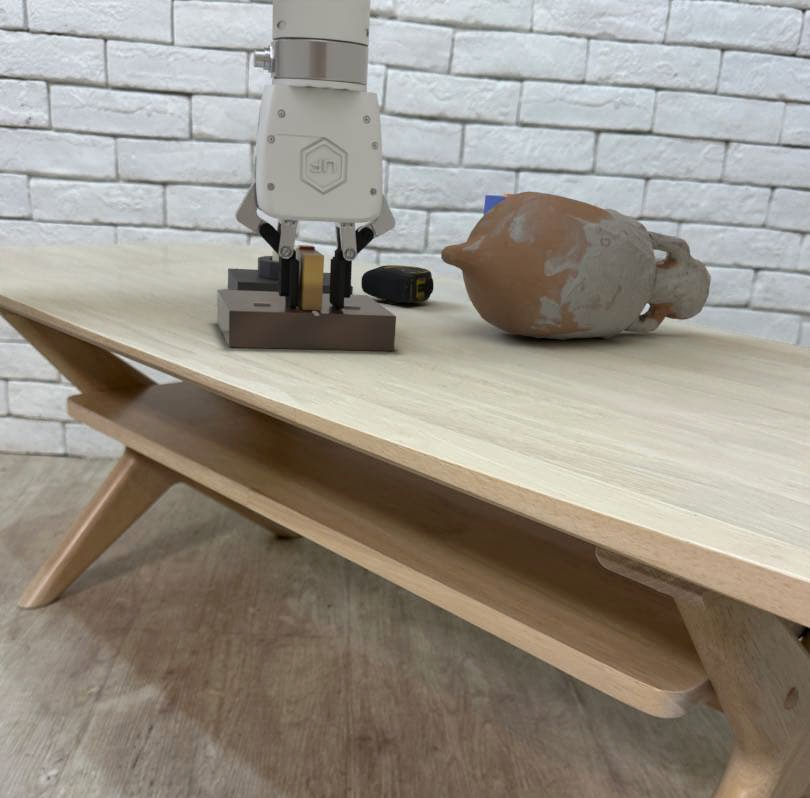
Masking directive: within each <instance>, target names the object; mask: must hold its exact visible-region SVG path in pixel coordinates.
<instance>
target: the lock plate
mask: <svg viewBox="0 0 810 798" xmlns="http://www.w3.org/2000/svg"><path fill="white" fill-rule="evenodd" d="M216 295H217V296H216V304H217V305H216V323H217V325H218V327H219V329H220V332H221V333H222V335H223V337H224V340H225V341H226V344H227V345H228V348H235V349H236V348H238V349H277V350H279V349H284V350H286V349H287V350H320V351H321V350H323V351H324V350H327V351H329V350H330V351H365V352H366V351H370V352H371V351H372V352H379V351H380V352H394V350H395V340H396V325H397V315H395V314H394V313H392V312H391V311H389V310H388V309H387V308H386V307H384V306H382V304H380V303H379V302H377V301H376V300H374V299H373V298H372V297H370V295H368V294H352V295H350V298H344V309H337V308H336V307H334V306H333V305H332V304H331V303H330V301H329V297H330V294H322V310H321V311H312V310H303V309H302V308H301V307H300V306H299V305H298V307H296V308H289V307H288V305H287V304H286V302H285V296H279V292H267V291H241V290H229V289H217V290H216Z"/></svg>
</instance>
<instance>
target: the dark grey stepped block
mask: <svg viewBox="0 0 810 798" xmlns="http://www.w3.org/2000/svg"><path fill="white" fill-rule="evenodd" d="M272 256H273V255H263V256H260V257H258V258H257V269H254V268H253V269H248V268H230V267H229V268H228V269H227V290H241V291H267V292H279V261H274V260H272ZM353 292H354V287H353V285H351V294H350V295H354V294H353ZM322 294H330V272H323V293H322Z"/></svg>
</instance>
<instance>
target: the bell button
mask: <svg viewBox="0 0 810 798" xmlns="http://www.w3.org/2000/svg"><path fill="white" fill-rule="evenodd" d="M296 248H298V245H295V244H294V250H295V251H296ZM271 256H272V260H274V261H279V255H278V254H277V253H276V252H275V250H274V249H273V248H272V255H271Z"/></svg>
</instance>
